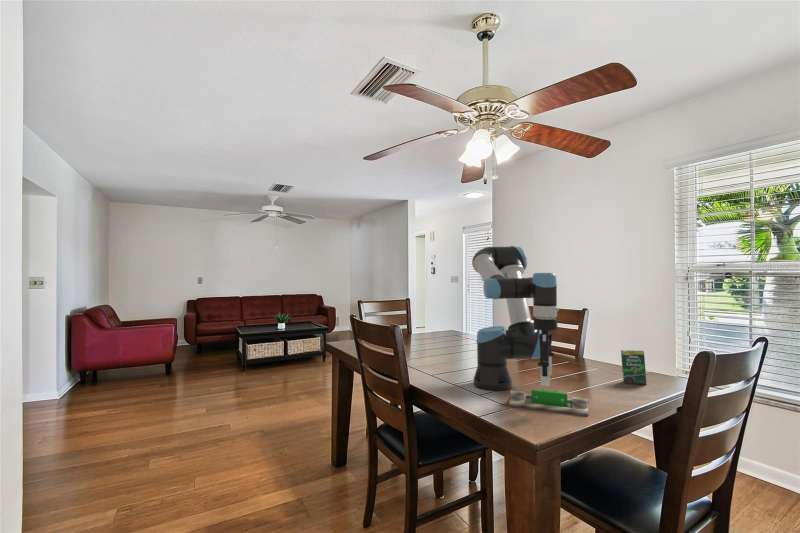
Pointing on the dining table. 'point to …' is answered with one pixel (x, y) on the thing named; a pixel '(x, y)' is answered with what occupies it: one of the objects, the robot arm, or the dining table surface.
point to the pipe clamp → (549, 398)
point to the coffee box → (633, 367)
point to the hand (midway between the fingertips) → (546, 380)
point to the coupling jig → (525, 401)
